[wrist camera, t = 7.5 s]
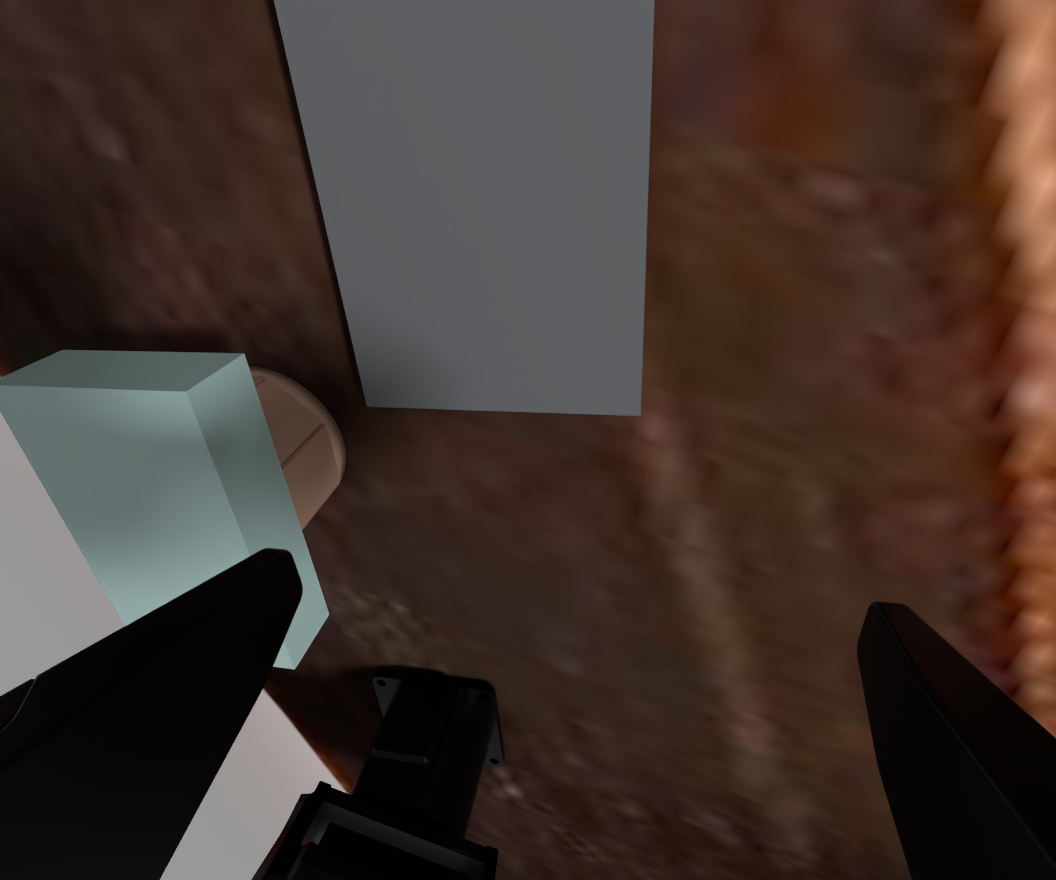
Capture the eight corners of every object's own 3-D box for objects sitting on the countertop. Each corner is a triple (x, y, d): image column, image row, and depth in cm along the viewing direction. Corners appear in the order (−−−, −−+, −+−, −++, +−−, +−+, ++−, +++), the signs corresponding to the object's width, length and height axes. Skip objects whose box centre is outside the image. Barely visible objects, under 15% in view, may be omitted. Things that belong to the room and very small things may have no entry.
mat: (640, 407, 21) (640, 416, 20) (373, 399, 23) (366, 406, 22) (659, -139, 14) (658, -147, 13) (267, -81, 16) (253, -86, 15)
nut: (361, 508, 26) (315, 572, 22) (226, 498, 27) (164, 558, 24) (324, 367, 22) (264, 418, 19) (172, 364, 24) (91, 411, 20)
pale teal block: (329, 614, 23) (294, 669, 21) (183, 597, 25) (137, 647, 23) (244, 353, 18) (185, 391, 16) (62, 349, 19) (-16, 384, 17)
